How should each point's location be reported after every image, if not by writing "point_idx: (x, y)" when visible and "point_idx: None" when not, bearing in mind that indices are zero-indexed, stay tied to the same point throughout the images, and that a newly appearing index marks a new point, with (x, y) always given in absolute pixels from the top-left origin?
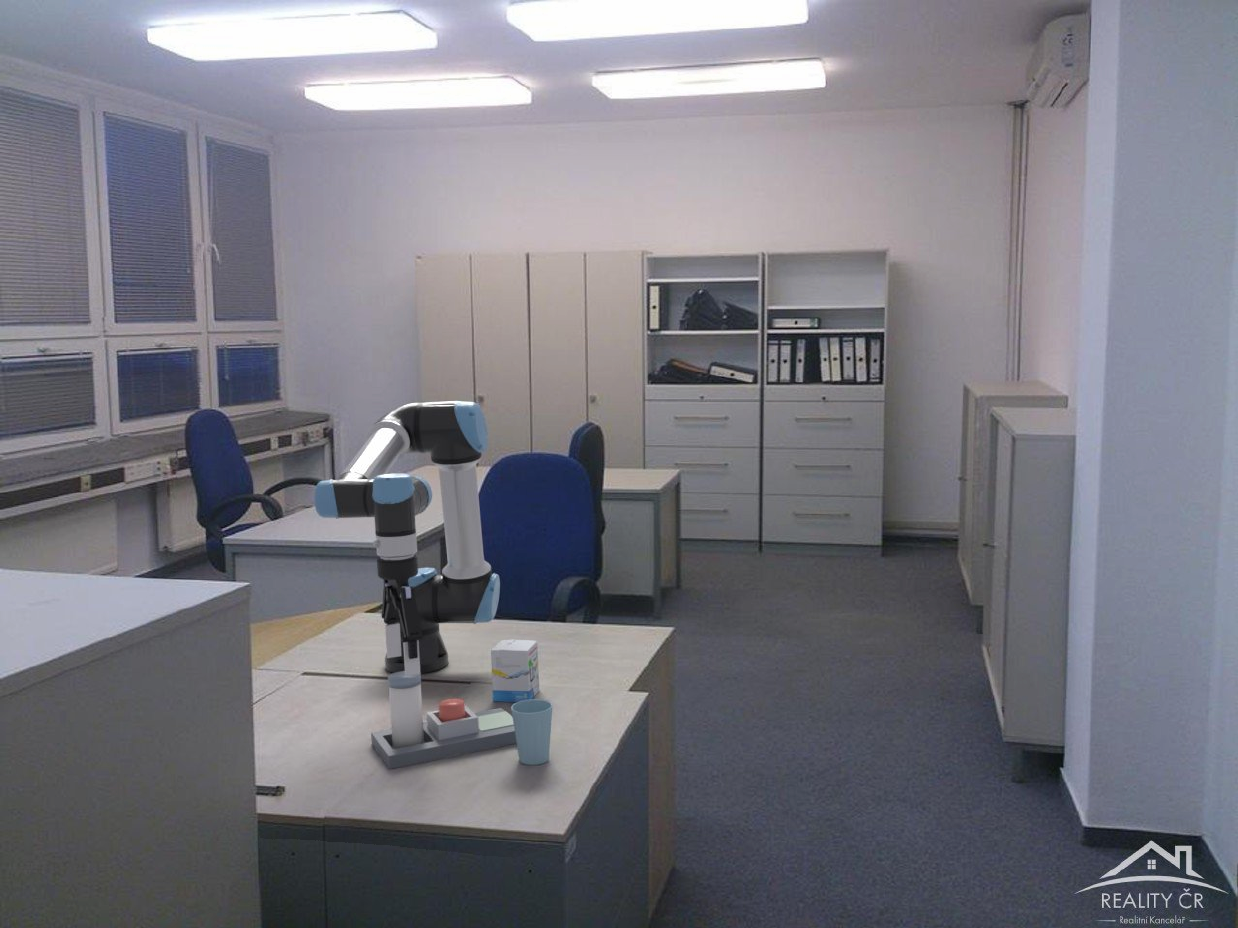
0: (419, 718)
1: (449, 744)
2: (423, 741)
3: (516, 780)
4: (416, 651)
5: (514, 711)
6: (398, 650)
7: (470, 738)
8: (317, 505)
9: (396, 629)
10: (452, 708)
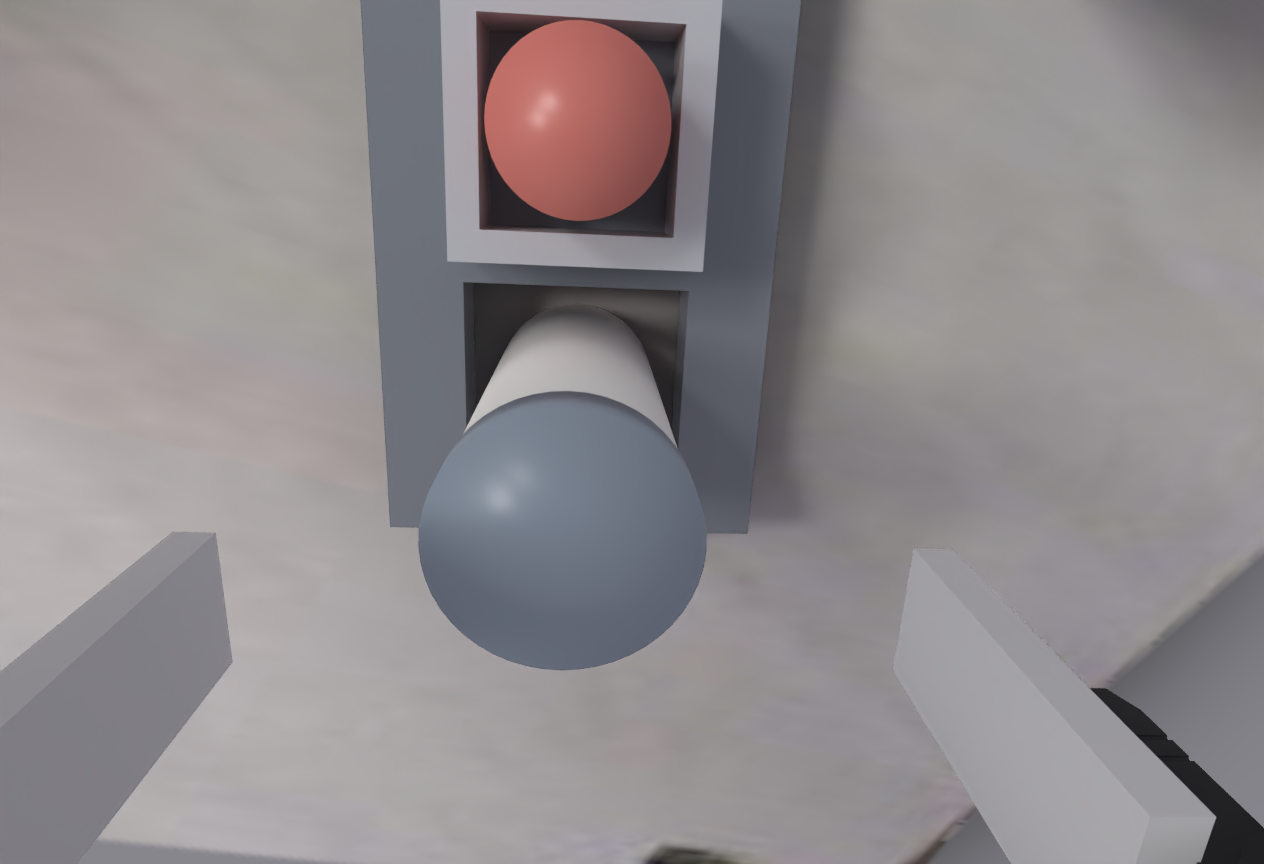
0: (649, 377)
1: (777, 234)
2: (617, 324)
3: (1231, 53)
4: (1172, 756)
5: None
6: (185, 592)
7: (771, 98)
8: None
9: (2, 791)
10: (665, 151)
